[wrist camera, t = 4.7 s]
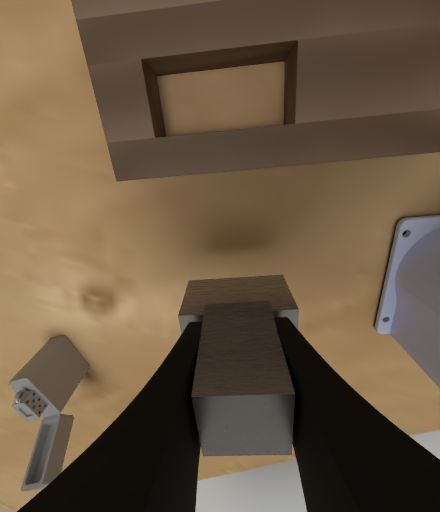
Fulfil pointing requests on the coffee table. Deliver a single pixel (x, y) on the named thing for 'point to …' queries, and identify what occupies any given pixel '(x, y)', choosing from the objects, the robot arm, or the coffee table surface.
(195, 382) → the gray t-shaped block
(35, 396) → the lighter
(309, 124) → the stand
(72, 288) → the coffee table surface
